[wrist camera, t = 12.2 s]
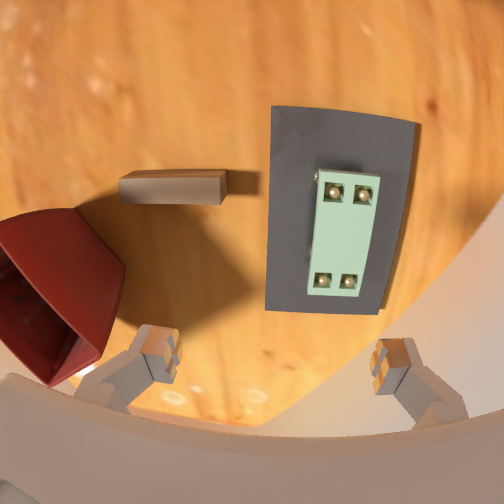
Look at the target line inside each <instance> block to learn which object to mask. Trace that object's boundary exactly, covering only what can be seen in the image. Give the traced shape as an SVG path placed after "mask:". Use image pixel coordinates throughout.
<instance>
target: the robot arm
mask: <svg viewBox="0 0 504 504" xmlns="http://www.w3.org/2000/svg"><path fill="white" fill-rule="evenodd" d="M178 338H179V332H178V329H175V328H168V327H162V326H156V325H148V324H143V325H142V326H141V327H140V329H139V331H138V333H137V335H136V336H135V338H134V340H133V342H132V344H131V346H130V348H129V350H128V351H127V350H125V351H123V352H122V353H120V354H118V355H117V356H115V357H114V358H112V359H110V360H109V361H107V362H106V363H104V364H102V365H101V366H99V367H97V368H96V369H94V370H93V371H91V372H89V373H88V374H86V375H85V376H84V377H83V379H82V381H81V383H80V385H79V386H78V388H77V390H76V392H75V394H74V396H73V397H72V396H70V395H67V394H64V393H61V392H59V391H56V390H54V389H51V388H49V387H46V386H44V385H41V384H39V383H36V382H34V381H32V380H30V379H27V378H26V377H23V376H21V375H19V374H16V373H10V374H7V375H5V376H3V377H1V378H0V504H504V409H501V410H498V411H495V412H491V413H488V414H485V415H481V416H477V417H474V418H470V419H469V416H468V413H467V410H466V407H465V404H464V401H463V398H462V396H461V395H460V394H458V393H457V392H456V391H455V390H454V389H453V388H451V387H450V386H449V385H448V384H447V383H446V382H445V381H443V380H442V379H441V378H440V377H439V376H437V375H436V374H435V373H434V372H433V371H431V370H430V369H429V368H428V367H427V366H423V363H422V360H421V358H420V355H419V352H418V350H417V347H416V344H415V342H414V339H412V338H394V339H379V340H378V341H377V344H376V348H377V350H376V351H375V352H373V354H372V357H371V363H370V369H371V374H372V375H373V376H374V377H375V379H374V382H373V385H374V390H375V395H390V394H394V396H395V397H396V398H397V400H398V401H399V402H400V403H401V405H402V406H403V407H404V408H405V409H406V411H407V412H408V413H409V414H410V415H411V417H412V418H413V419H414V420H415V421H416V424H415V426H414V427H413V428H412V429H411V430H409V431H402V432H394V433H385V434H375V435H363V436H347V437H318V438H317V437H314V438H313V437H312V438H311V437H307V438H306V437H274V436H258V435H246V434H236V433H226V432H218V431H210V430H203V429H198V428H192V427H186V426H180V425H175V424H170V423H165V422H160V421H155V420H151V419H147V418H143V417H138V416H135V415H131V413H130V412H129V410H128V409H127V407H126V406H127V405H128V404H130V403H131V402H132V401H133V400H134V399H135V398H137V397H138V396H139V395H140V394H141V393H142V392H143V391H145V390H146V389H147V388H148V387H149V386H150V385H151V384H153V383H154V381H155V382H161V383H168V384H173V382H174V379H175V376H176V373H177V371H176V366H177V365H179V364H180V361H181V358H182V344H181V342H180V341H179V340H178Z"/></svg>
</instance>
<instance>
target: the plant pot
mask: <svg viewBox="0 0 504 504" xmlns="http://www.w3.org/2000/svg"><path fill="white" fill-rule="evenodd" d="M124 277H125V267H124V265H123V264H122V263H121V262H120V261H119V259H118V258H117V257H116V256H115V255H114V254H113V253H112V252H111V251H110V249H109V248H108V247H107V246H106V245H105V244H104V243H103V242H102V240H101V239H100V238H99V237H98V236H97V235H96V233H95V232H94V231H93V230H92V229H91V227H90V226H89V225H88V224H87V223H86V221H85V220H84V219H83V218H82V217H81V215H80V214H79V213H78V212H77V211H76V210H75V209H73V208H57V209H45V210H38V211H33V212H29V213H24V214H20V215H17V216H14V217H11V218H8V219H5V220H2V221H0V340H1V341H2V342H3V343H4V344H5V346H6V347H7V348H8V349H9V350H10V351H11V352H12V353H13V354H14V355H15V356H16V357H17V358H18V359H19V360H20V361H21V362H22V363H23V364H24V365H25V366H26V367H27V368H28V369H29V370H30V371H31V372H32V373H33V374H34V375H35V376H36V377H37V378H39V379H40V380H41V381H42V382H43V383H44V384H45V385H47V386H48V387H53V386H55V385H57V384H59V383H60V382H62V381H64V380H65V379H67V378H69V377H71V376H72V375H74V374H75V373H77V372H79V371H81V370H82V369H84V368H86V367H88V366H89V365H91V364H93V363H94V362H96V361H98V360H99V359H100V358H101V357H102V354H103V352H104V349H105V347H106V344H107V342H108V339H109V336H110V333H111V330H112V327H113V324H114V321H115V317H116V314H117V310H118V306H119V302H120V298H121V294H122V289H123V283H124Z"/></svg>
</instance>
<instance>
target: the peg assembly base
mask: <svg viewBox="0 0 504 504" xmlns="http://www.w3.org/2000/svg"><path fill="white" fill-rule="evenodd" d="M414 132H415V122H410V121H405V120H400V119H395V118H389V117H383V116H377V115H370V114H363V113H356V112H348V111H339V110H329V109H318V108H305V107H289V106H271V146H270V184H269V216H268V244H267V271H266V295H265V310H268V311H284V312H303V313H326V314H359V315H378V312H379V309H380V306H381V302H382V299H383V295H384V292H385V288H386V285H387V281H388V277H389V273H390V270H391V266H392V262H393V257H394V253H395V249H396V245H397V240H398V236H399V231H400V226H401V221H402V216H403V211H404V205H405V200H406V194H407V188H408V181H409V174H410V167H411V160H412V151H413V142H414ZM319 169H328V170H339V171H350V172H359V173H368V174H377V175H378V176H379V177H380V183H379V190H378V197H377V204H376V210H375V216H374V222H373V228H372V234H371V239H370V244H369V249H368V254H367V259H366V264H365V269H364V273H363V278H362V282H361V287H360V291H359V295H358V297H352V296H328V295H308V294H307V285H308V278H309V269H310V261H311V252H312V243H313V234H314V224H315V214H316V203H317V191H318V179H319ZM342 186H343V183H332V182H325V187H324V198H329V199H341V195H342ZM370 189H371V186H364V185H355V189H354V198H353V201H364V202H369V197H370ZM330 275H331V273H320V272H315V276H314V282H319V284H320V285H321V286H326V285H327V284H328V282H329V281H330ZM355 276H356V274H342V275H341V281H340V283H345V285H346V286H347V287H352V286H353V285H354V281H355Z"/></svg>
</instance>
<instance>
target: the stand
mask: <svg viewBox="0 0 504 504" xmlns="http://www.w3.org/2000/svg"><path fill="white" fill-rule="evenodd" d="M118 180H119V188H120V196H121V203H122V204H200V205H221V203H222V202H223V200H224V199H225V197H226V195H227V170H222V169H184V170H145V171H133V172H131V173H129V174H127V175H125V176H123V177H122V178H120V179H118Z"/></svg>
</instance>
